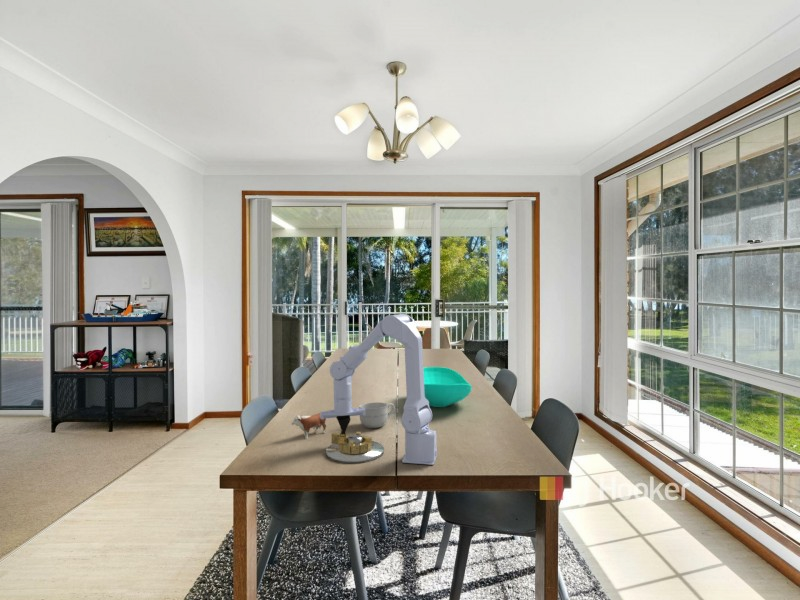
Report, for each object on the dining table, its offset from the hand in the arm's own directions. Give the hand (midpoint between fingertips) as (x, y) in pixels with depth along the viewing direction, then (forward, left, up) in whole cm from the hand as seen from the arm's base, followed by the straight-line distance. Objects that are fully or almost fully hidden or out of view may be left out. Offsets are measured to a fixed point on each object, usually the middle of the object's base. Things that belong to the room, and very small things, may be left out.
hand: (343, 438), depth 150 cm
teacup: (-5, -23, -3) cm, 24 cm away
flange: (-5, +5, -2) cm, 8 cm away
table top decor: (-24, -56, -3) cm, 61 cm away
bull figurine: (+15, -7, -3) cm, 16 cm away
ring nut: (-4, +4, -1) cm, 6 cm away
